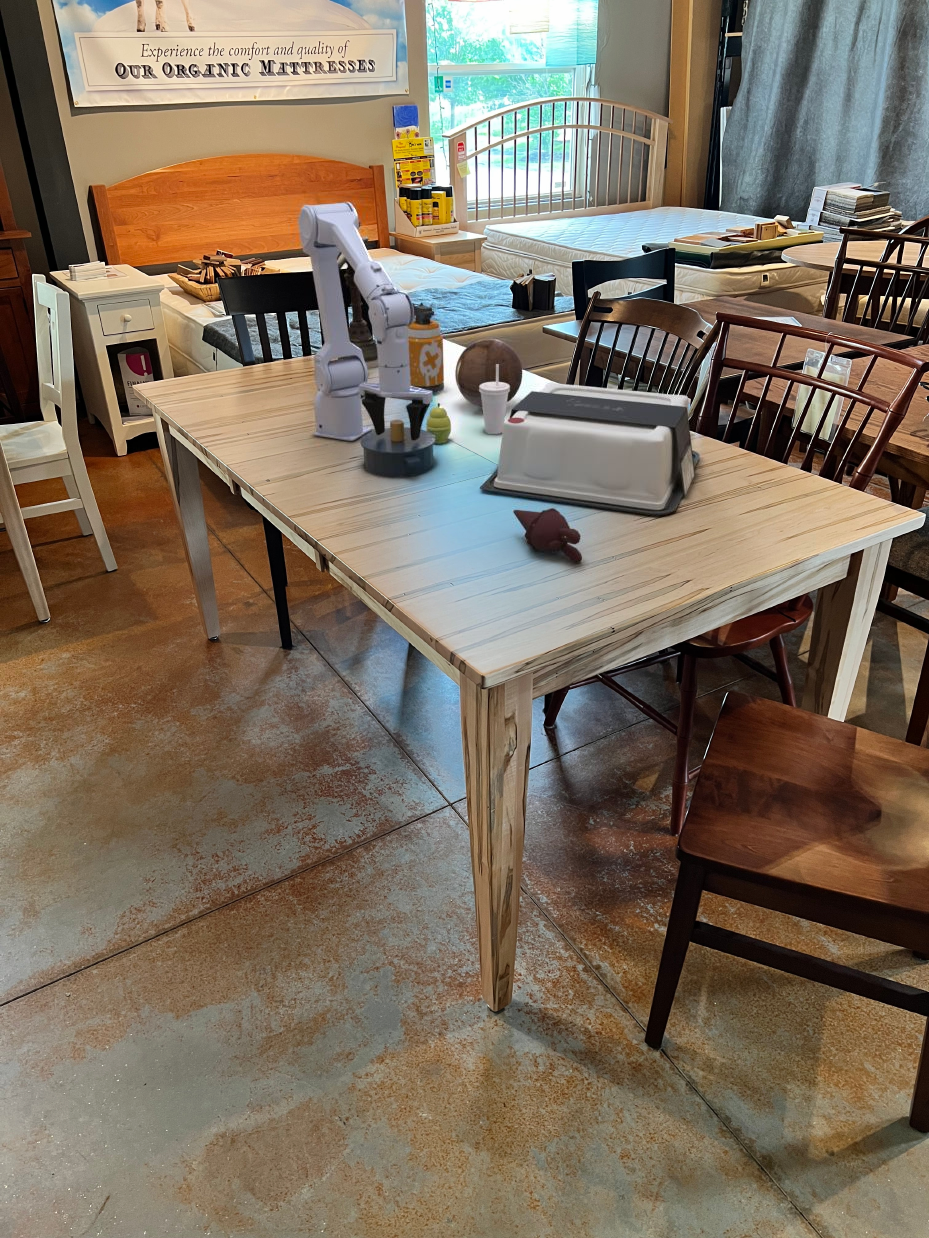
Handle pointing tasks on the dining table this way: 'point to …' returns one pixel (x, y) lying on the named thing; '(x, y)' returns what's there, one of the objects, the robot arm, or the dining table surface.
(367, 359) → the dark brown tall piece
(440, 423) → the pear
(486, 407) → the smoothie
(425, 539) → the dining table surface
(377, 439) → the lid
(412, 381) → the canister
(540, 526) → the icecream
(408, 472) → the pan
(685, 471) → the cake box
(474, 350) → the wooden sphere
